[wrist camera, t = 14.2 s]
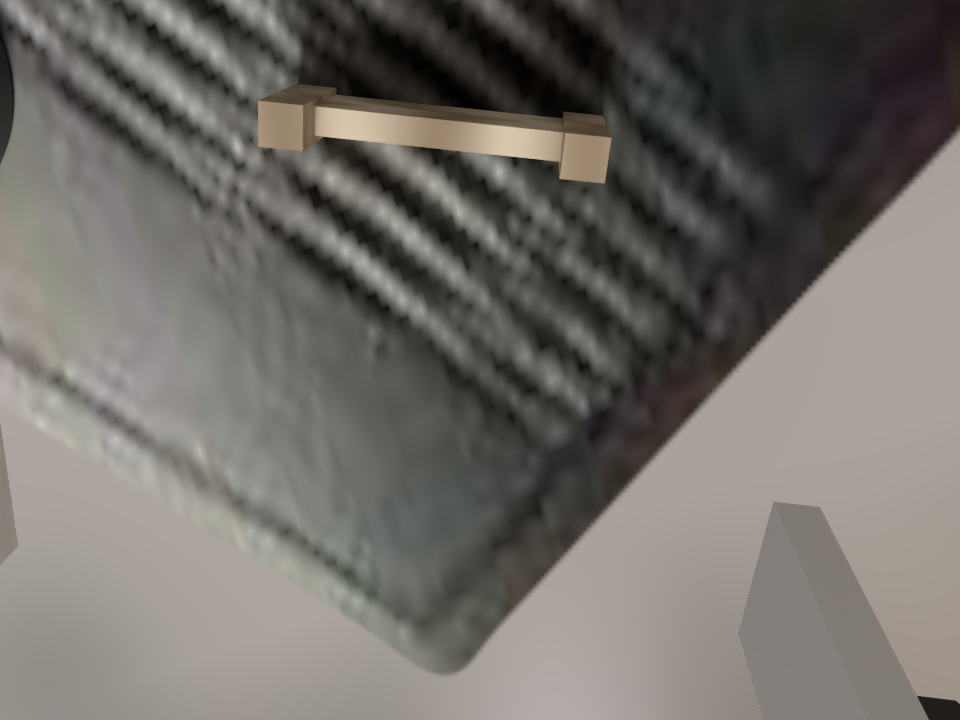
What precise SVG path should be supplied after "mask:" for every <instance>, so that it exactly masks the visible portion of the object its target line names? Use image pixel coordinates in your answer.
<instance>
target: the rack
mask: <svg viewBox="0 0 960 720" xmlns="http://www.w3.org/2000/svg"><path fill="white" fill-rule="evenodd" d="M336 91H337V88H332V87H322V86H312V85H303V84H296V85H294V86H292V87H289V88H287V89H285V90H282V91H280V92H278V93H275V94H273V95H270V96H268V97H266V98H263V99H261V100H259V101H258V140H259V147H267V148H276V149H286V150H295V151H304V150H305V149H307V148H308V147H309V146H311V145H312V144H314V143H315V142H317V141H318V140H319V139H321V138H322V137H333V138H342V139H351V140H361V141H370V142H380V143H389V144H399V145H408V146H418V147H427V148H437V149H446V150H455V151H465V152H474V153H484V154H493V155H503V156H512V157H522V158H531V159H541V160H550V161H559V176H560V179H568V180H577V181H587V182H596V183H605V177H606V171H607V164H608V157H609V151H610V144H611V135H610V133H609V130H608V128H607V125H606V123H605V120H604V118H603V116H600V115H591V114H581V113H572V112H563V117H562V118H554V117H544V116H535V115H525V114H516V113H506V112H496V111H487V110H477V109H468V108H458V107H449V106H439V105H429V104H420V103H410V102H401V101H391V100H381V99H372V98H362V97H353V96H343V95H336Z"/></svg>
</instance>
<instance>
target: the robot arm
mask: <svg viewBox="0 0 960 720" xmlns="http://www.w3.org/2000/svg"><path fill="white" fill-rule="evenodd" d="M12 110H13V99H12V85H11V78H10V71H9V67H8V62H7V58H6V54H5V51H4V48H3V44H2V42H1V39H0V163H1V160H2V158H3V156H4V153H5V150H6V147H7V144H8V140H9V135H10V130H11V123H12ZM17 546H18V542H17V536H16V528H15V521H14V514H13V509H12V501H11V494H10V487H9V480H8V474H7V467H6V460H5V453H4V446H3V440H2V433H1V426H0V565H1V564H2V563H3V562H4V560H5V559H6V558H7V557H8V556H9V555H10V554H11V553H12V552H13V551H14V550H15V548H17ZM739 636H740V639H741V643H742V646H743V649H744V653H745V657H746V660H747V663H748V667H749V670H750V673H751V677H752V681H753V684H754V687H755V691H756V694H757V698H758V701H759V705H760V708H761V712H762V715H763V718H764V720H960V704H959V703H958V702H957V701H954V700H946V699H938V698H929V697H921V696H917V695H916V693H915V692H914V690H913V688H912V686H911V684H910V682H909V680H908V678H907V676H906V674H905V672H904V670H903V668H902V666H901V664H900V662H899V661H898V658H897V657H896V655H895V653H894V651H893V649H892V647H891V645H890V643H889V641H888V639H887V637H886V635H885V633H884V631H883V629H882V627H881V625H880V623H879V621H878V619H877V617H876V616H875V614H874V612H873V610H872V608H871V606H870V604H869V602H868V600H867V598H866V596H865V594H864V592H863V590H862V588H861V586H860V584H859V582H858V580H857V579H856V577H855V575H854V573H853V571H852V569H851V567H850V565H849V563H848V561H847V559H846V557H845V555H844V553H843V551H842V549H841V548H840V545H839V544H838V542H837V540H836V538H835V536H834V534H833V532H832V530H831V528H830V526H829V524H828V522H827V520H826V518H825V516H824V514H823V512H822V510H821V508H820V507H813V506H805V505H796V504H787V503H778V502H773V505H772V509H771V513H770V517H769V520H768V524H767V528H766V532H765V535H764V539H763V544H762V547H761V550H760V554H759V558H758V562H757V565H756V569H755V573H754V577H753V580H752V584H751V588H750V592H749V596H748V599H747V603H746V607H745V610H744V614H743V618H742V622H741V625H740V629H739Z"/></svg>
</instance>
